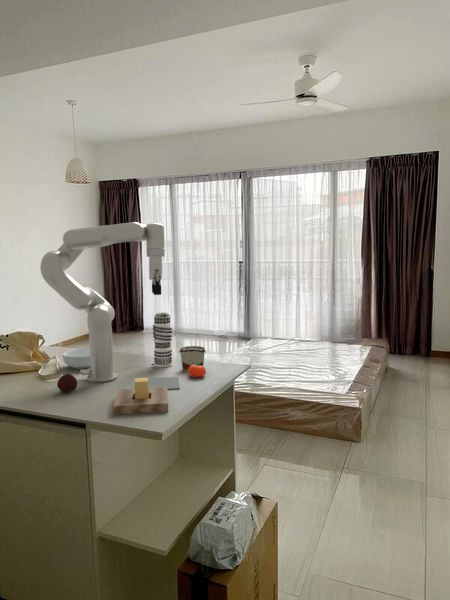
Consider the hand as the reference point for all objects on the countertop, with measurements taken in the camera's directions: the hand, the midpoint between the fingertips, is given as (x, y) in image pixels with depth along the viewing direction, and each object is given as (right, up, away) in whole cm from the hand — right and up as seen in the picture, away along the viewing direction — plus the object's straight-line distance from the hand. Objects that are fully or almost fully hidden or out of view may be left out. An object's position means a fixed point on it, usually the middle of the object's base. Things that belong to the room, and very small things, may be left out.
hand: (156, 293), depth 187 cm
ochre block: (0, -40, -31) cm, 50 cm away
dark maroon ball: (-32, -39, -17) cm, 53 cm away
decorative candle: (-1, -34, +24) cm, 42 cm away
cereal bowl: (-39, -35, +22) cm, 56 cm away
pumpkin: (+17, -36, +4) cm, 40 cm away
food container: (+15, -35, +17) cm, 41 cm away
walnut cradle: (0, -40, -31) cm, 50 cm away
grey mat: (+2, -37, -8) cm, 38 cm away
